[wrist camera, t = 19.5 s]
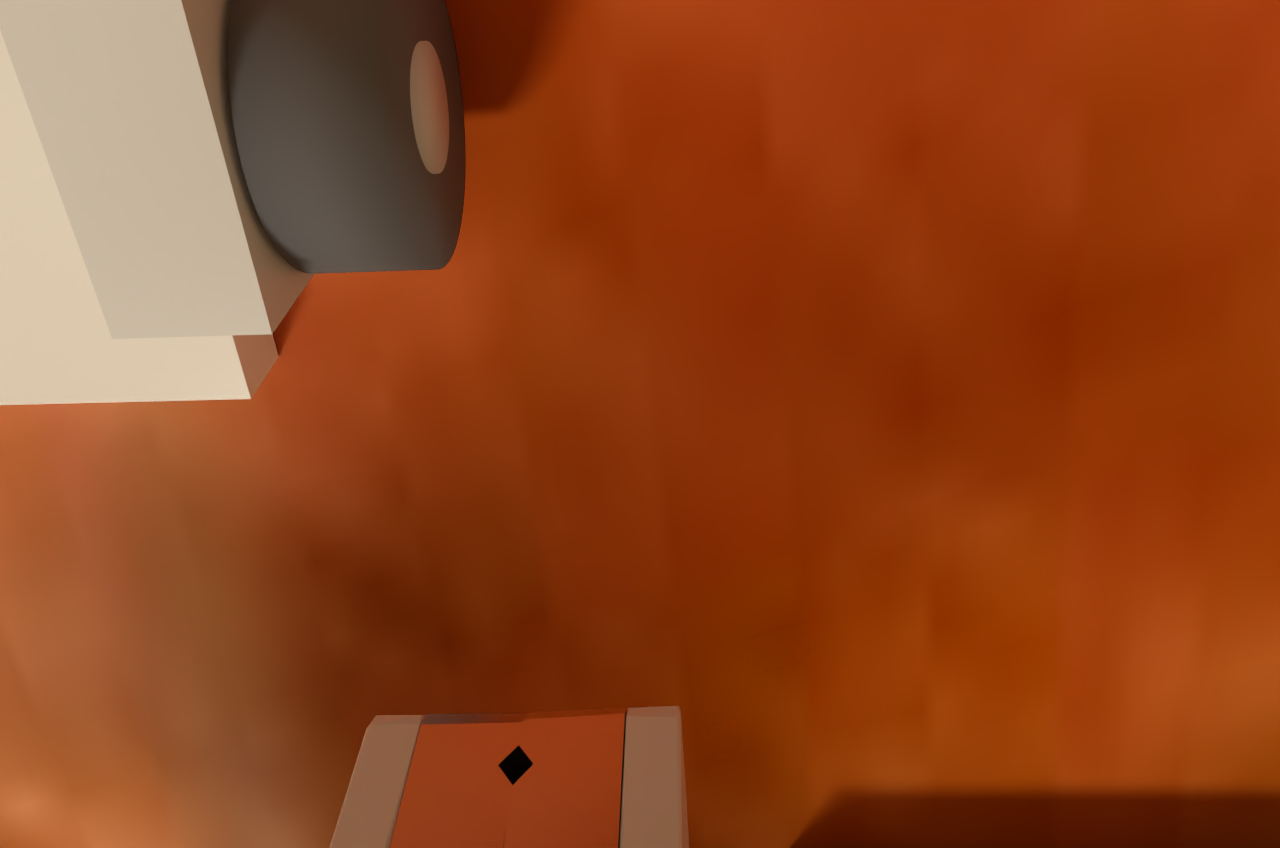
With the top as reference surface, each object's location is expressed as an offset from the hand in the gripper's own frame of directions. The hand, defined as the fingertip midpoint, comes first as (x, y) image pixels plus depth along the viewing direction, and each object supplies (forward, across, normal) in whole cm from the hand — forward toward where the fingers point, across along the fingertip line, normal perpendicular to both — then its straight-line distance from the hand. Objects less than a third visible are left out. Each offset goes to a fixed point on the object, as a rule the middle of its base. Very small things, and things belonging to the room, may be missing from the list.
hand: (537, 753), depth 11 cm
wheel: (+16, -6, +3) cm, 18 cm away
